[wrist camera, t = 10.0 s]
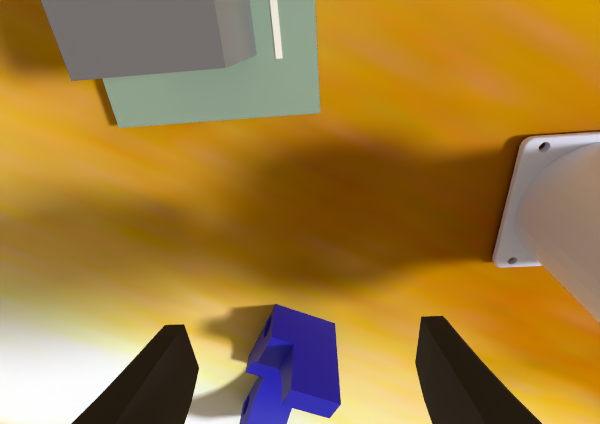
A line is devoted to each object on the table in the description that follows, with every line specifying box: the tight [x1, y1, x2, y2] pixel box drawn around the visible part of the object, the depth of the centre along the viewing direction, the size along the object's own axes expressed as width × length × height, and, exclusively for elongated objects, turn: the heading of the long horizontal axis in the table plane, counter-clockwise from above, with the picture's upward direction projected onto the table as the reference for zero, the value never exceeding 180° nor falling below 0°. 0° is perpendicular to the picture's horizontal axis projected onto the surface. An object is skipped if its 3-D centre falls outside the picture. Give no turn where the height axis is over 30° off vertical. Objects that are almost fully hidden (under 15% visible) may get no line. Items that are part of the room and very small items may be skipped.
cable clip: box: [240, 304, 341, 424], centre depth 23 cm, size 12×4×6 cm, turn 157°
